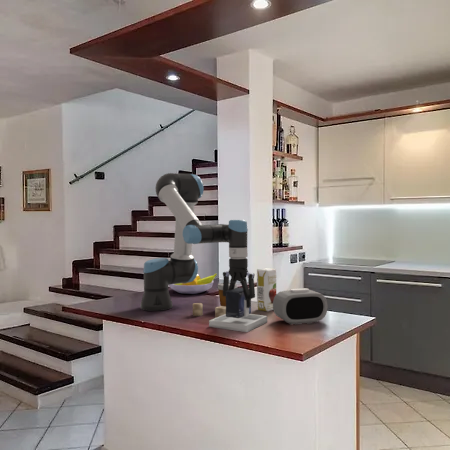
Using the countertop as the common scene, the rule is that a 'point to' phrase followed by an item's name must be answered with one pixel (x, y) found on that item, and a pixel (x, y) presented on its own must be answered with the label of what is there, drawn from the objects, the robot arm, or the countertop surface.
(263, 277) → the juice carton
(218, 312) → the beech cube
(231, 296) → the small box
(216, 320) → the tray
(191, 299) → the countertop surface
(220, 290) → the disposable coffee cup
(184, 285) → the fruit bowl
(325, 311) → the alarm clock
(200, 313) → the beech post
